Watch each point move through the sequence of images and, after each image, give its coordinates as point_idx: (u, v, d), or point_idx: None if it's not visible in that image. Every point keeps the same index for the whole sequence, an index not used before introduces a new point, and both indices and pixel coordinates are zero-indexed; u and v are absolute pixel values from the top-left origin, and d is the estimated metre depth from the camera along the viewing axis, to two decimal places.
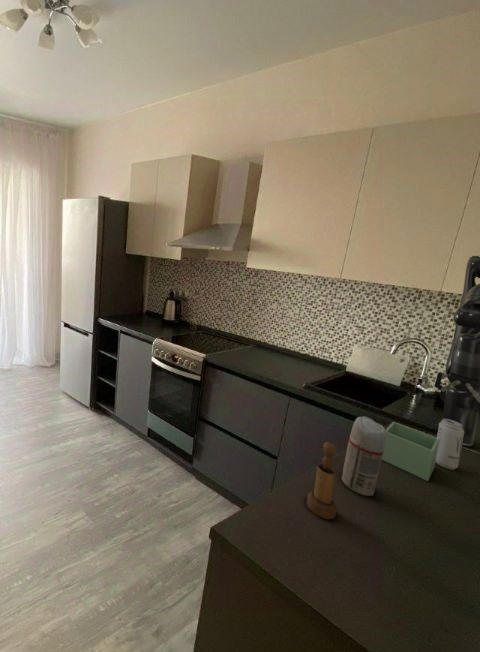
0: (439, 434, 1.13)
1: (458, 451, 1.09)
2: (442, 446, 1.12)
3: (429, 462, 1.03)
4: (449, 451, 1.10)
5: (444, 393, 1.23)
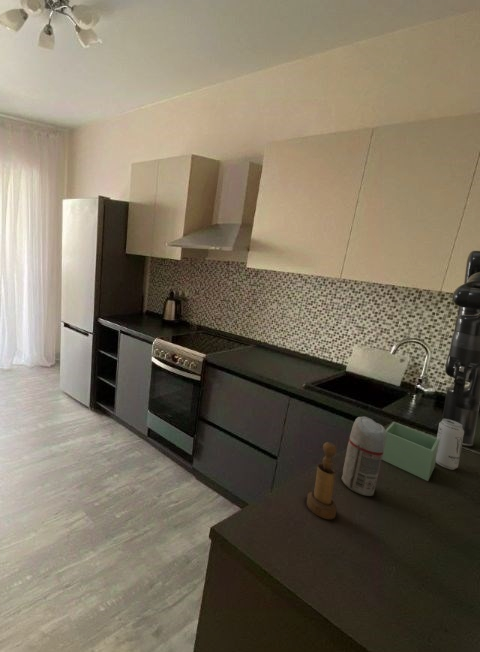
0: (439, 434, 1.13)
1: (458, 451, 1.09)
2: (442, 446, 1.12)
3: (429, 462, 1.03)
4: (449, 451, 1.10)
5: (456, 380, 1.16)
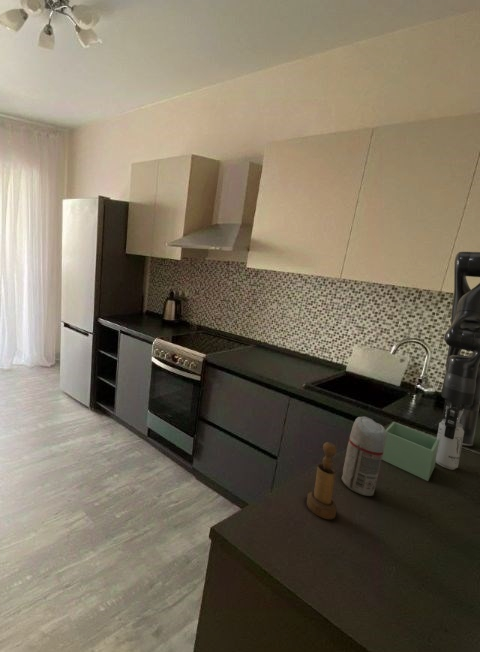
0: (439, 434, 1.13)
1: (458, 451, 1.09)
2: (442, 446, 1.12)
3: (429, 462, 1.03)
4: (449, 451, 1.10)
5: None
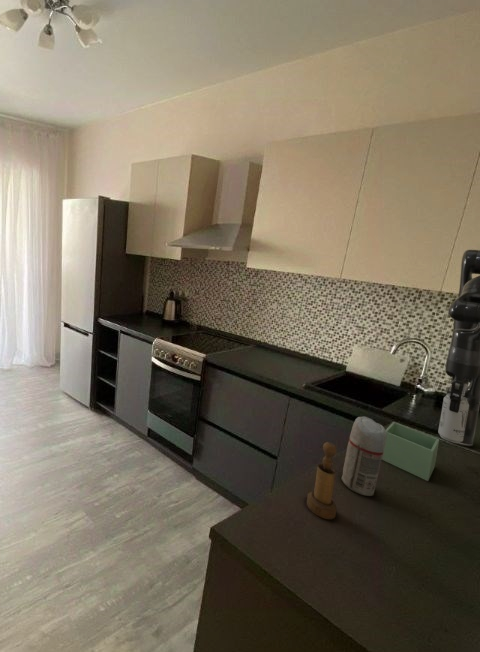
0: (444, 408, 1.12)
1: (463, 424, 1.09)
2: (447, 420, 1.11)
3: (429, 462, 1.03)
4: (454, 425, 1.10)
5: None
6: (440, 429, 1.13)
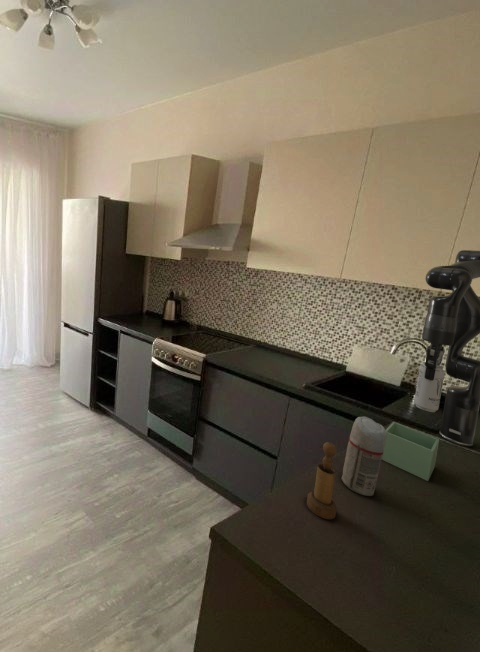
0: (419, 377, 1.10)
1: (438, 393, 1.07)
2: (422, 388, 1.09)
3: (429, 462, 1.03)
4: (429, 393, 1.08)
5: None
6: (416, 398, 1.11)
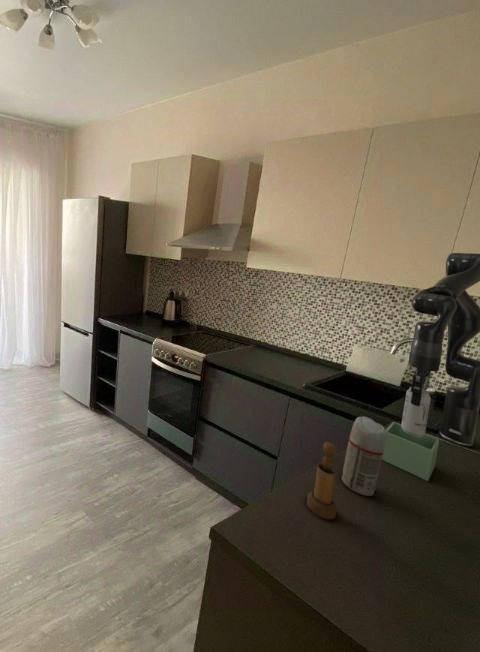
0: (406, 402, 1.11)
1: (424, 418, 1.07)
2: (409, 413, 1.09)
3: (429, 462, 1.03)
4: (416, 419, 1.08)
5: None
6: (402, 423, 1.11)
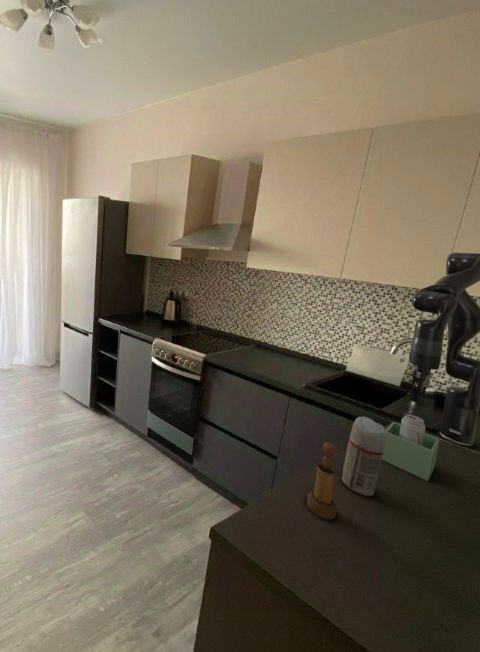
0: (401, 430, 1.11)
1: None
2: None
3: (429, 462, 1.03)
4: None
5: None
6: None
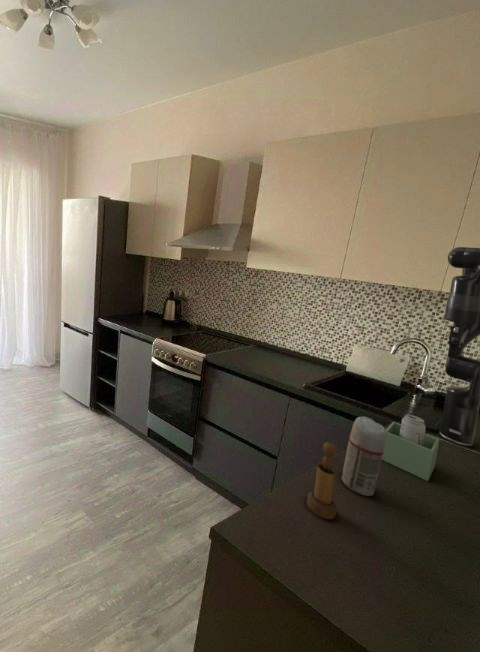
0: (401, 430, 1.11)
1: None
2: None
3: (429, 462, 1.03)
4: None
5: None
6: None
